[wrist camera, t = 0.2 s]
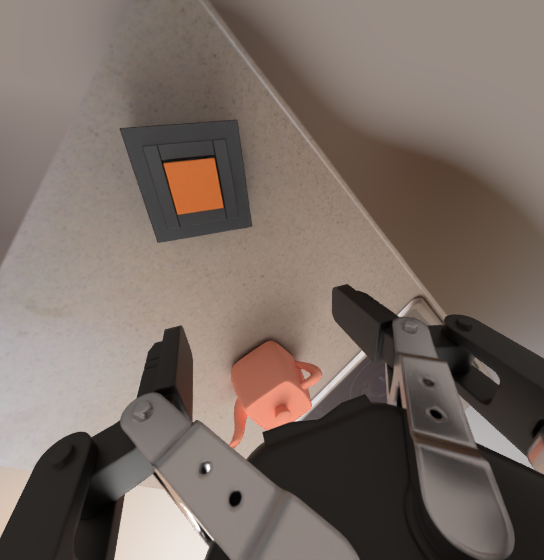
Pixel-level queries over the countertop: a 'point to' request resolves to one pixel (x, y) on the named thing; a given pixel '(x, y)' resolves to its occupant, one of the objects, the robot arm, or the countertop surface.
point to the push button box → (182, 147)
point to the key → (194, 185)
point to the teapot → (270, 388)
